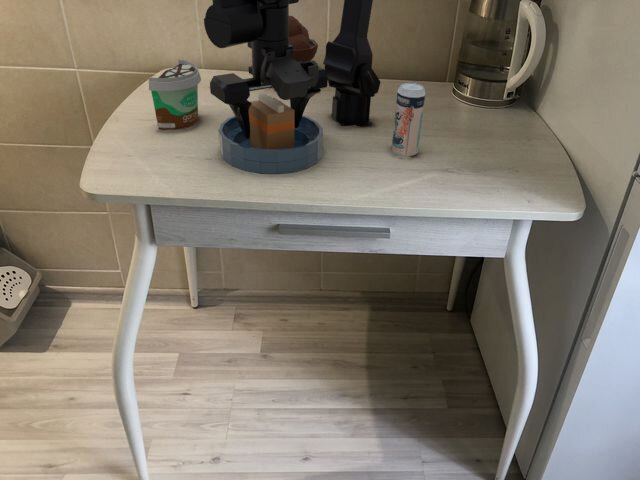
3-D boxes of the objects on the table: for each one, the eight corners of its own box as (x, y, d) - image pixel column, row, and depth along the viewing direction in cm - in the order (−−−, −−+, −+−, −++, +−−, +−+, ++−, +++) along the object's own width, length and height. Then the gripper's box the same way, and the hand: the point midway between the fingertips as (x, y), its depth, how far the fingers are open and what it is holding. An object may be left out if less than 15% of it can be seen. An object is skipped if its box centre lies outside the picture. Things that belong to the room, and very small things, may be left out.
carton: (275, 141, 106) (274, 90, 100) (294, 155, 102) (294, 102, 96) (249, 147, 103) (247, 94, 98) (268, 161, 99) (267, 108, 94)
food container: (187, 139, 105) (181, 83, 99) (155, 134, 106) (147, 78, 100) (215, 114, 115) (211, 62, 109) (185, 110, 116) (179, 58, 110)
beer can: (386, 148, 108) (393, 82, 101) (410, 145, 109) (418, 80, 102) (398, 159, 104) (406, 92, 97) (422, 156, 106) (431, 90, 99)
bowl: (304, 130, 112) (305, 107, 109) (335, 170, 99) (337, 145, 97) (212, 138, 106) (210, 114, 104) (232, 182, 93) (231, 155, 91)
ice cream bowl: (315, 97, 127) (317, 23, 118) (262, 93, 126) (260, 19, 118) (318, 81, 135) (320, 10, 127) (269, 77, 135) (268, 6, 126)
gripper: (239, 58, 82) (244, 162, 91) (349, 43, 91) (344, 139, 100) (204, 37, 89) (212, 136, 98) (310, 25, 98) (308, 116, 107)
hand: (271, 132), depth 101 cm, fingers open, 9 cm apart
